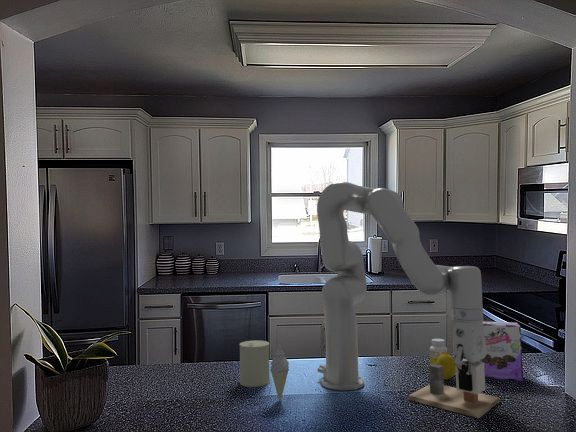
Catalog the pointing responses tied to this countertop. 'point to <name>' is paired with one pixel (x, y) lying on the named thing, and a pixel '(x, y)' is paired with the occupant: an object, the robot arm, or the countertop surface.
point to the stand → (452, 396)
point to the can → (254, 363)
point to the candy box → (503, 351)
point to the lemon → (447, 365)
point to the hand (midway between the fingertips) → (470, 386)
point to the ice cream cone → (279, 371)
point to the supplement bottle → (437, 350)
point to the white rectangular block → (474, 377)
